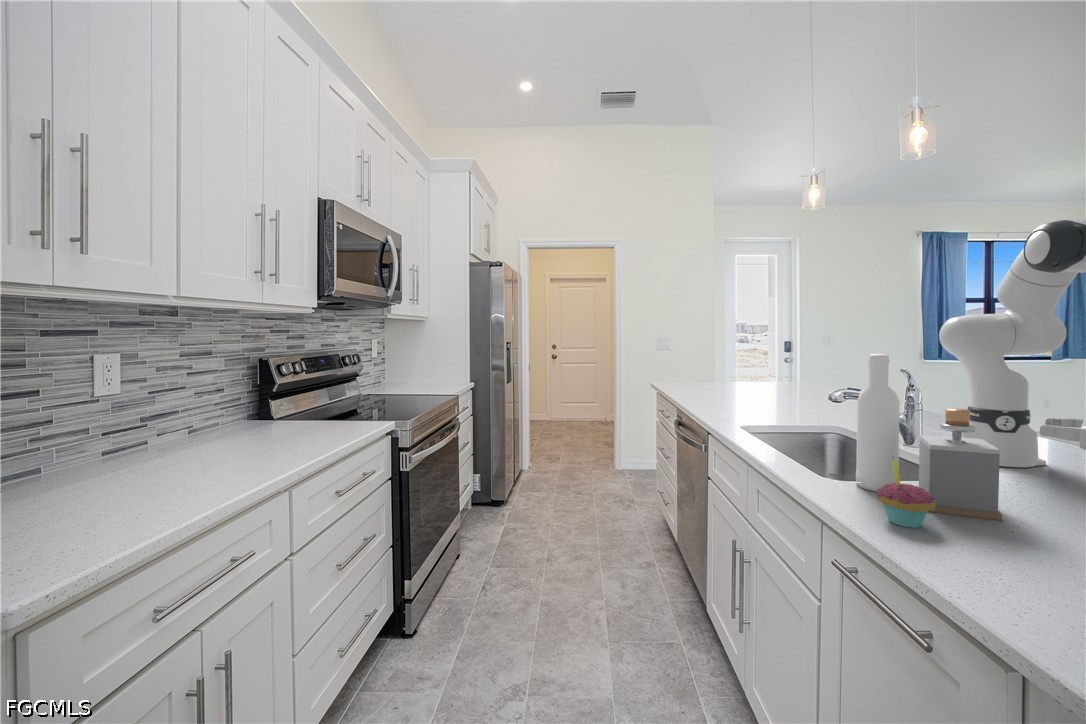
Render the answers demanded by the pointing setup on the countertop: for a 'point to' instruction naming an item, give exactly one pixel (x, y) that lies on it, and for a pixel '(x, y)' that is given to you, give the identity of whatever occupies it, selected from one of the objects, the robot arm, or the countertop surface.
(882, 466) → the bottle
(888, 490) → the cupcake
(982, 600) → the countertop surface
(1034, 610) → the countertop surface
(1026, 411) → the robot arm
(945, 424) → the plunger
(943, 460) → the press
